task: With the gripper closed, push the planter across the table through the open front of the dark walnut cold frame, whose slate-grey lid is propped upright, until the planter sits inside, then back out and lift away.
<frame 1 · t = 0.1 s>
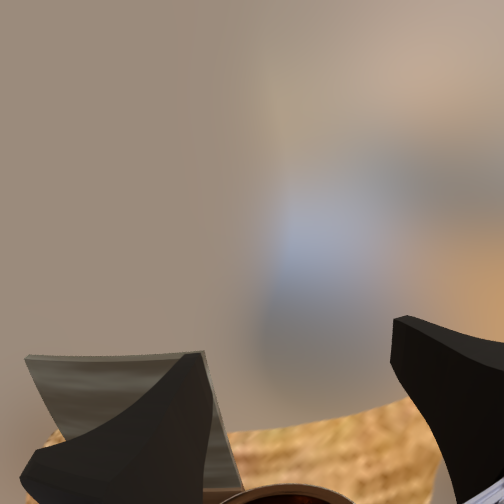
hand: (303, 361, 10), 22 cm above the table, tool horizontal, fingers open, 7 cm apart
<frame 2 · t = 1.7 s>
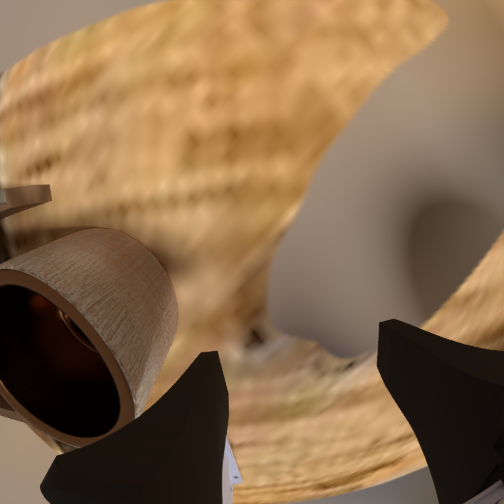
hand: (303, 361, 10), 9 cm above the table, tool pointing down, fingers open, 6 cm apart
cold frame: (21, 309, 19), on the table
planter: (110, 299, 20), on the table
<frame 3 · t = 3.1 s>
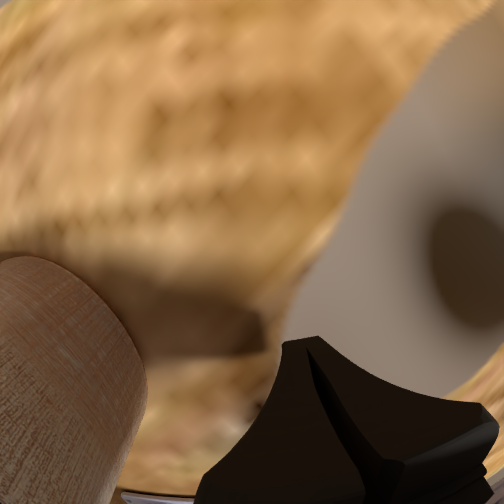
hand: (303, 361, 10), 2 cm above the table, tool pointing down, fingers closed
planter: (58, 352, 12), on the table
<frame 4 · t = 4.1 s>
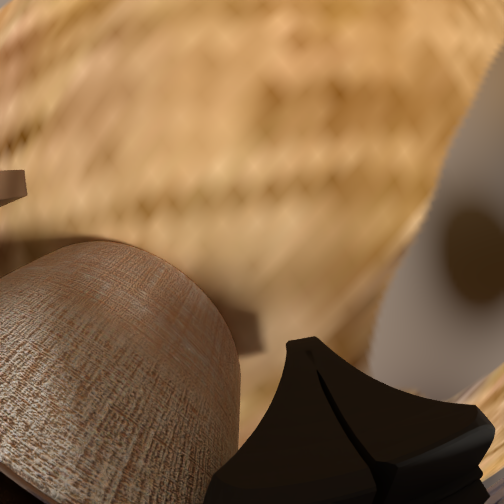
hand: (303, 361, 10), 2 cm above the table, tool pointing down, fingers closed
planter: (123, 352, 12), on the table, touching gripper
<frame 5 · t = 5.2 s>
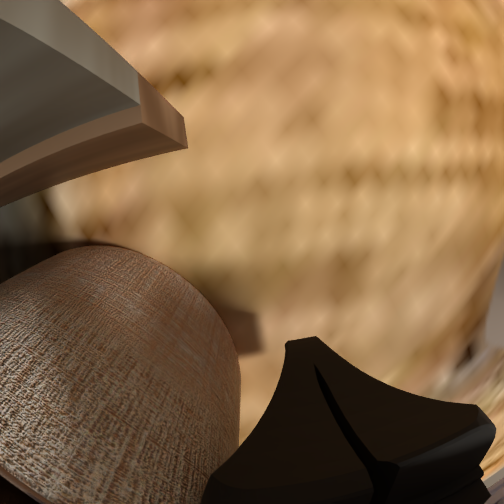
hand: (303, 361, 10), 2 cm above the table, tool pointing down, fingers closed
cold frame: (86, 356, 12), on the table
planter: (124, 355, 12), on the table, touching gripper
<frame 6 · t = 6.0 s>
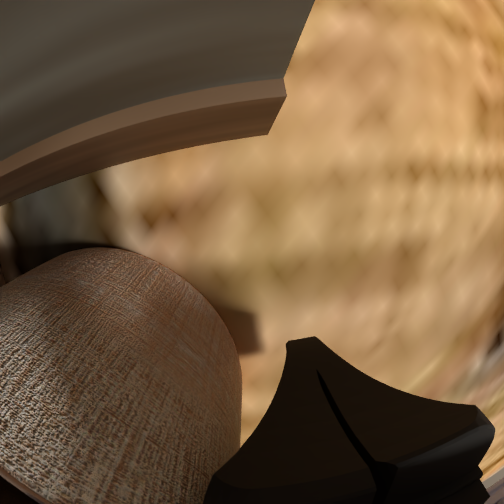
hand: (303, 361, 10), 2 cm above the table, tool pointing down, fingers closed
cold frame: (136, 354, 12), on the table
planter: (125, 356, 12), on the table, touching gripper
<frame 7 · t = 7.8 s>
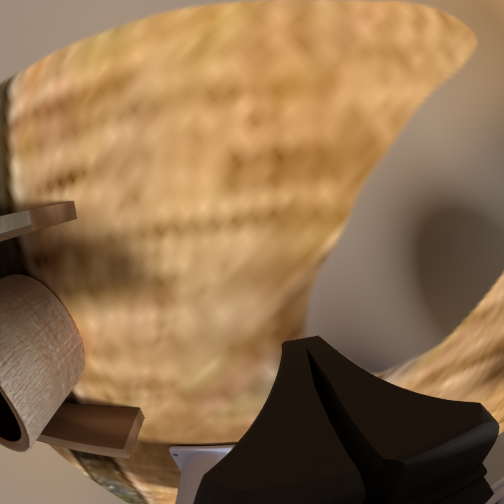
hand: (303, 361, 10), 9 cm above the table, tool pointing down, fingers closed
cold frame: (41, 329, 19), on the table
planter: (38, 331, 20), on the table
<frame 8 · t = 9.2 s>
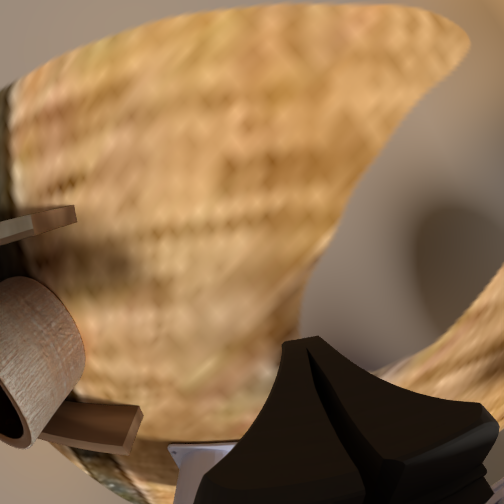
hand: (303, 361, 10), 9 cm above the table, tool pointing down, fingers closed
cold frame: (42, 329, 20), on the table
planter: (39, 331, 20), on the table
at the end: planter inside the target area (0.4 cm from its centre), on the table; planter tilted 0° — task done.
